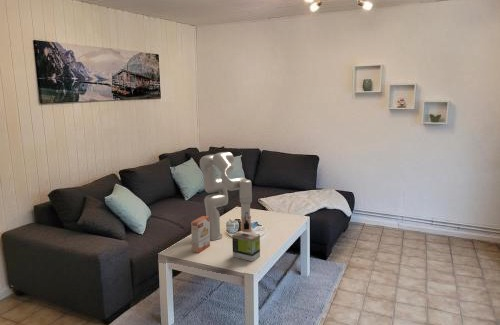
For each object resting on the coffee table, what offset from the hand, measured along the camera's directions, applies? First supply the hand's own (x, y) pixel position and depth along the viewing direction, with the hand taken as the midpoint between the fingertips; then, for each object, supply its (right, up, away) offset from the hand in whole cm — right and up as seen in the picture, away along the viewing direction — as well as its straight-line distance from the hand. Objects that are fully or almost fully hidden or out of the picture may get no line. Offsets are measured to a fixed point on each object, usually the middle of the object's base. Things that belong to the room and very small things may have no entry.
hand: (246, 227), depth 243 cm
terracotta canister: (0, -2, 0) cm, 2 cm away
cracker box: (-30, -18, +16) cm, 38 cm away
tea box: (0, -20, +4) cm, 20 cm away
